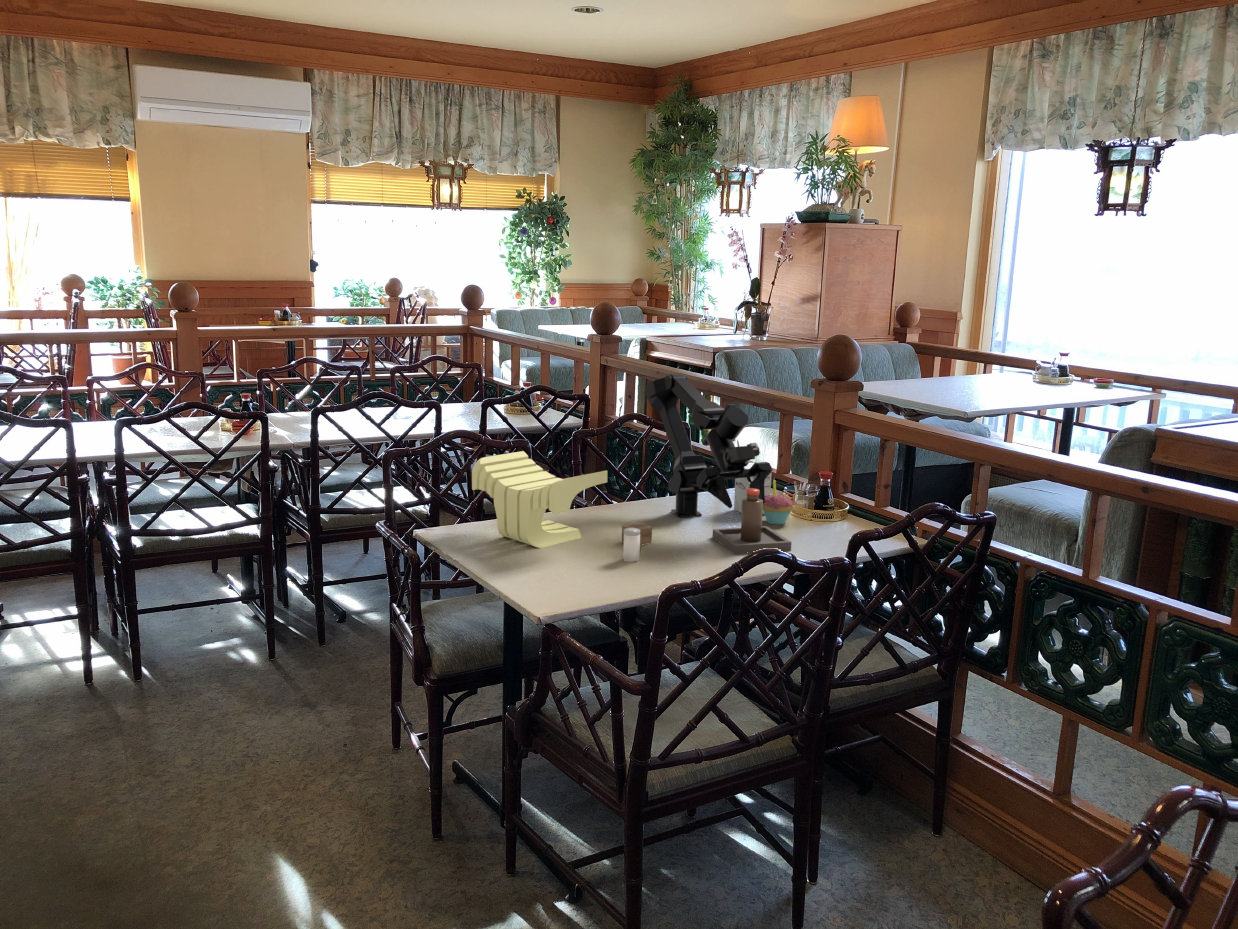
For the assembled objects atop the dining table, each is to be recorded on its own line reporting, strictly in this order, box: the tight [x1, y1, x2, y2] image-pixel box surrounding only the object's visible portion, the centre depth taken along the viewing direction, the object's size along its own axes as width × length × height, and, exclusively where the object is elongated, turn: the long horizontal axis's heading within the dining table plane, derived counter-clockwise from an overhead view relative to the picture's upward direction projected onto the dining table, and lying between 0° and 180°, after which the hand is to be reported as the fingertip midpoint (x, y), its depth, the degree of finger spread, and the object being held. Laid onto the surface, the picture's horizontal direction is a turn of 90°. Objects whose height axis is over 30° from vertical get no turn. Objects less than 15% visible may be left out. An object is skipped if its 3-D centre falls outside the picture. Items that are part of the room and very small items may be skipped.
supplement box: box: [733, 462, 773, 515], centre depth 256 cm, size 7×7×13 cm
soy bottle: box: [740, 488, 763, 542], centre depth 227 cm, size 5×5×12 cm
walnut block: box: [621, 521, 653, 546], centre depth 228 cm, size 5×5×4 cm
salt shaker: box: [622, 528, 641, 563], centre depth 214 cm, size 4×4×7 cm
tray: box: [712, 525, 792, 555], centre depth 228 cm, size 14×14×2 cm
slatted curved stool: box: [471, 450, 608, 549], centre depth 228 cm, size 30×16×18 cm, turn 45°
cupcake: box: [763, 477, 794, 525], centre depth 247 cm, size 9×8×12 cm
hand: (747, 505), depth 228 cm, fingers open, 9 cm apart
